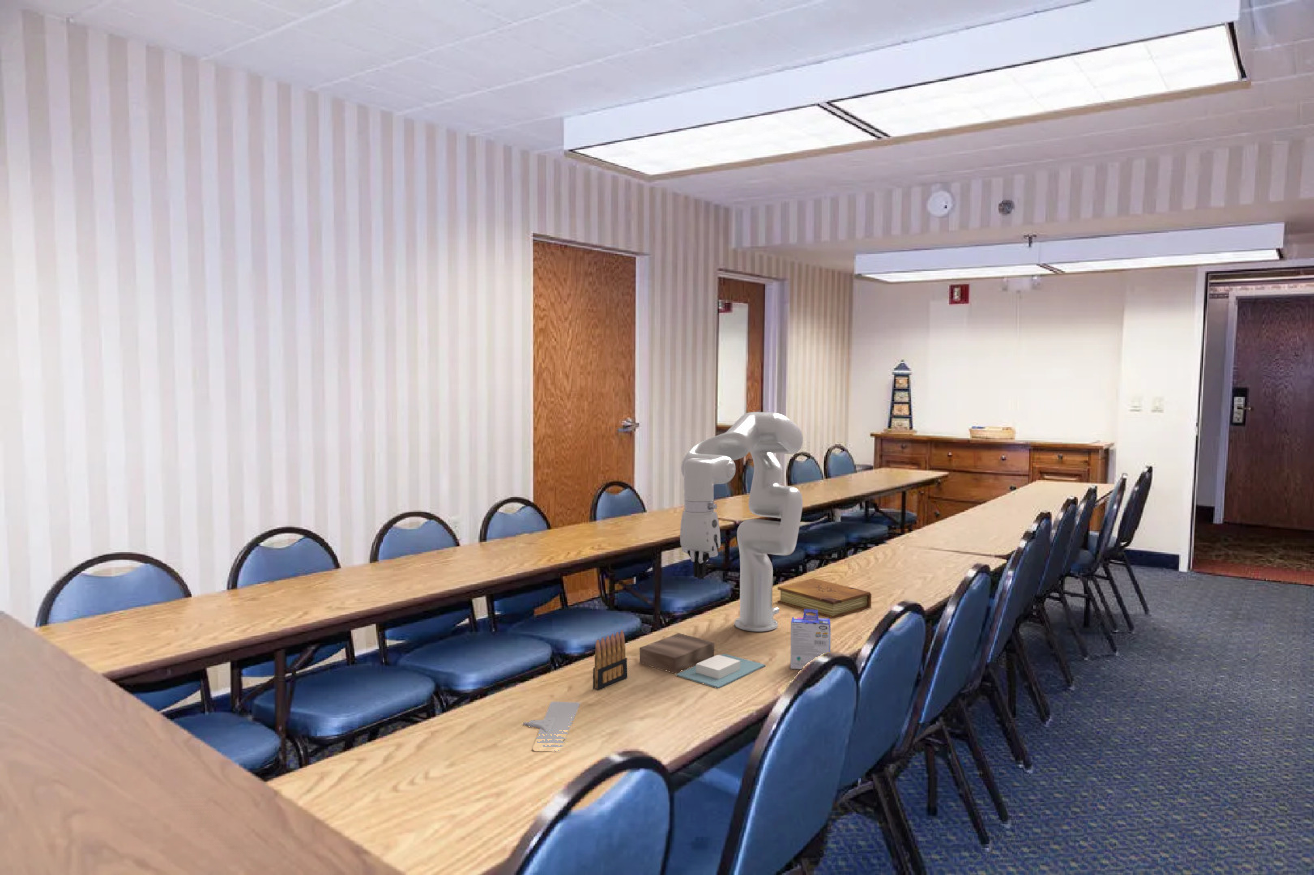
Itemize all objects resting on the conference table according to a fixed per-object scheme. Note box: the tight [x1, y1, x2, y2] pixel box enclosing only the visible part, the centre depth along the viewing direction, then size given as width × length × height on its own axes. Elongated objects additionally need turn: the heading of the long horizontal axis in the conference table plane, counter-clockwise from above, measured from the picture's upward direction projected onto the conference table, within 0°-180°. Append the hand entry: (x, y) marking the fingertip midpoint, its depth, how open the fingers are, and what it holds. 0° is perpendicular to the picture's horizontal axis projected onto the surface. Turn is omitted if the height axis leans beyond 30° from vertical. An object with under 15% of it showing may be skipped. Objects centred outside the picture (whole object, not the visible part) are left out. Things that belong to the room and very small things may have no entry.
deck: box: [639, 632, 715, 674], centre depth 218 cm, size 16×12×4 cm
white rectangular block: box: [695, 654, 740, 679], centre depth 209 cm, size 9×7×2 cm
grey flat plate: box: [522, 701, 581, 751], centre depth 178 cm, size 25×24×1 cm
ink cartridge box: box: [789, 609, 832, 670], centre depth 212 cm, size 10×6×14 cm, turn 78°
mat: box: [675, 653, 766, 689], centre depth 210 cm, size 20×13×1 cm, turn 139°
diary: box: [777, 578, 872, 619], centre depth 270 cm, size 23×19×6 cm
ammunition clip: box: [592, 629, 628, 691], centre depth 201 cm, size 11×2×12 cm, turn 142°
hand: (699, 576), depth 216 cm, fingers closed
